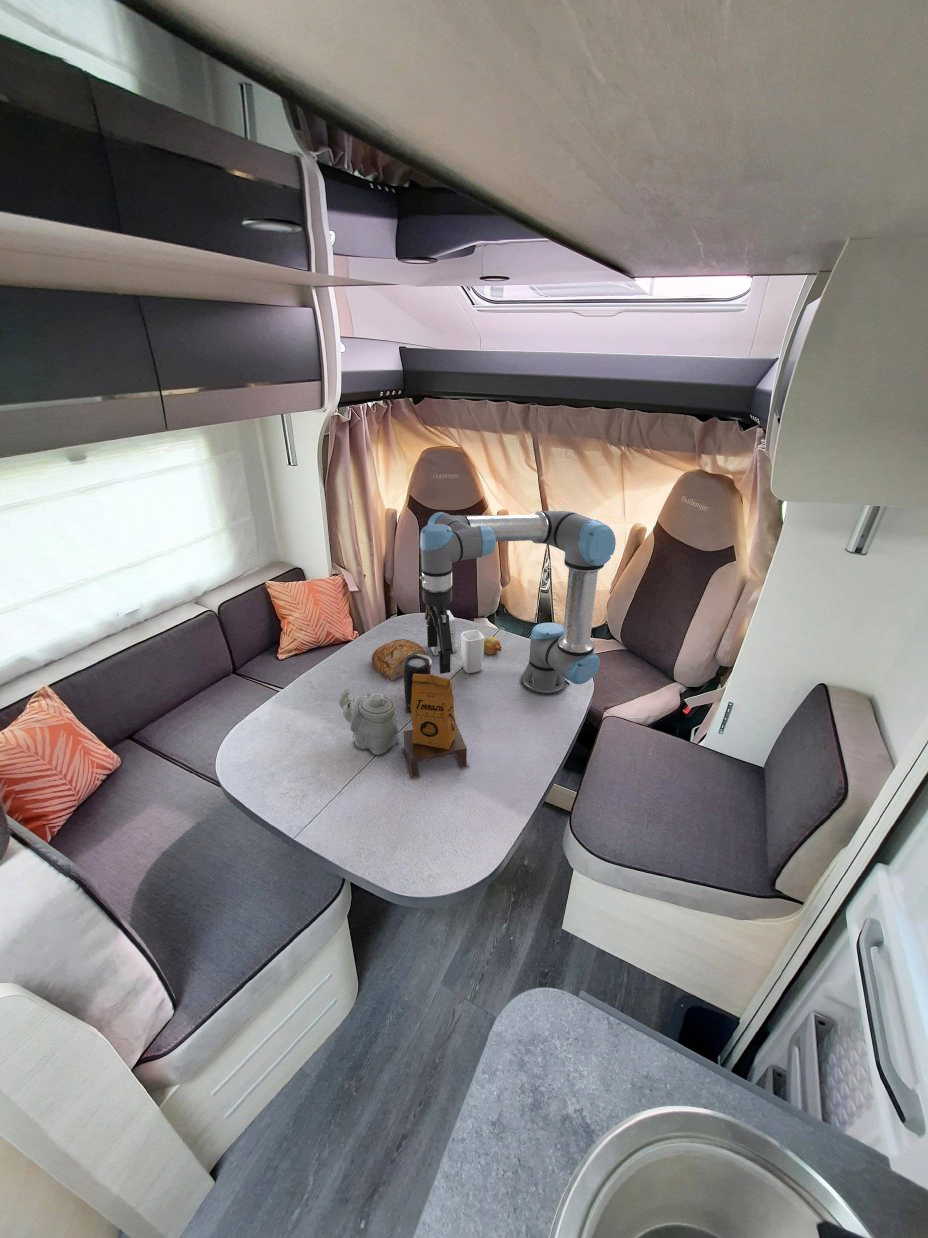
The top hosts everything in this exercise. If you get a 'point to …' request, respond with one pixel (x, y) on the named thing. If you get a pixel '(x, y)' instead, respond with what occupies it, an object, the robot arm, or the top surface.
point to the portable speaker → (411, 667)
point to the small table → (432, 751)
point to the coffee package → (432, 711)
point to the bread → (395, 657)
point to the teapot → (371, 721)
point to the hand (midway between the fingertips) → (438, 659)
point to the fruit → (492, 645)
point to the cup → (472, 650)
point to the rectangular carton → (452, 630)
